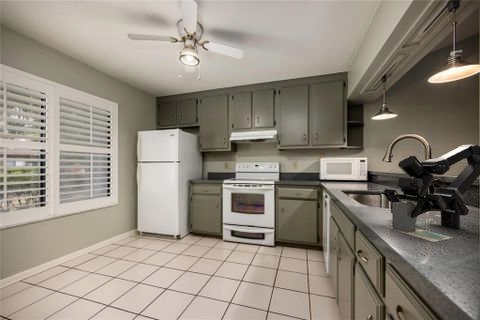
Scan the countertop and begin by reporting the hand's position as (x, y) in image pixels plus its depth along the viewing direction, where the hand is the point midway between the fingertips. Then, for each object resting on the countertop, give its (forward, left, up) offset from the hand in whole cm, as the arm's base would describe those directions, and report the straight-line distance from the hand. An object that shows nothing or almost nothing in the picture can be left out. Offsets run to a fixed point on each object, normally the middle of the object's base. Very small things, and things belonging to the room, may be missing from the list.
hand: (401, 215), depth 76 cm
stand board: (-3, +3, -7) cm, 8 cm away
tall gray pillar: (-1, 0, -6) cm, 6 cm away
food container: (-13, -5, -7) cm, 15 cm away
